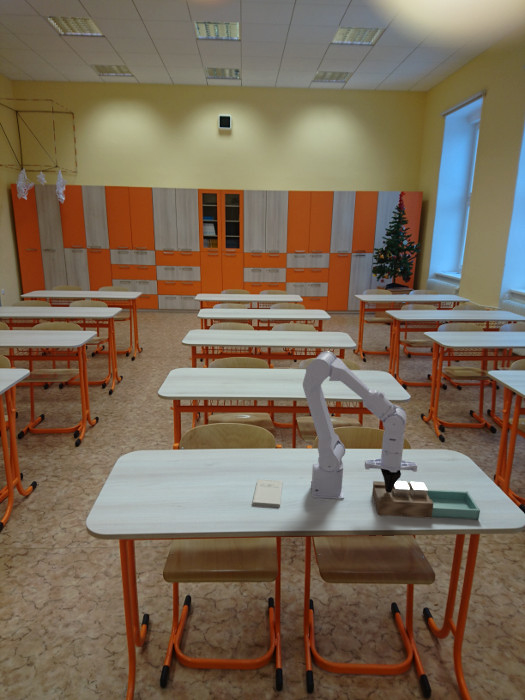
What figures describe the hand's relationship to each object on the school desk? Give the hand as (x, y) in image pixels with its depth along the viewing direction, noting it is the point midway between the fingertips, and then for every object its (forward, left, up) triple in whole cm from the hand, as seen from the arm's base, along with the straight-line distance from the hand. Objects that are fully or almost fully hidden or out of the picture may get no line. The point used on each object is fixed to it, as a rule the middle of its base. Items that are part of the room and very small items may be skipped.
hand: (388, 490), depth 130 cm
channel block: (+4, 0, -5) cm, 6 cm away
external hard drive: (-35, +3, -6) cm, 36 cm away
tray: (+18, 0, -5) cm, 19 cm away
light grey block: (+9, 0, -1) cm, 9 cm away
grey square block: (+4, 0, -1) cm, 4 cm away
